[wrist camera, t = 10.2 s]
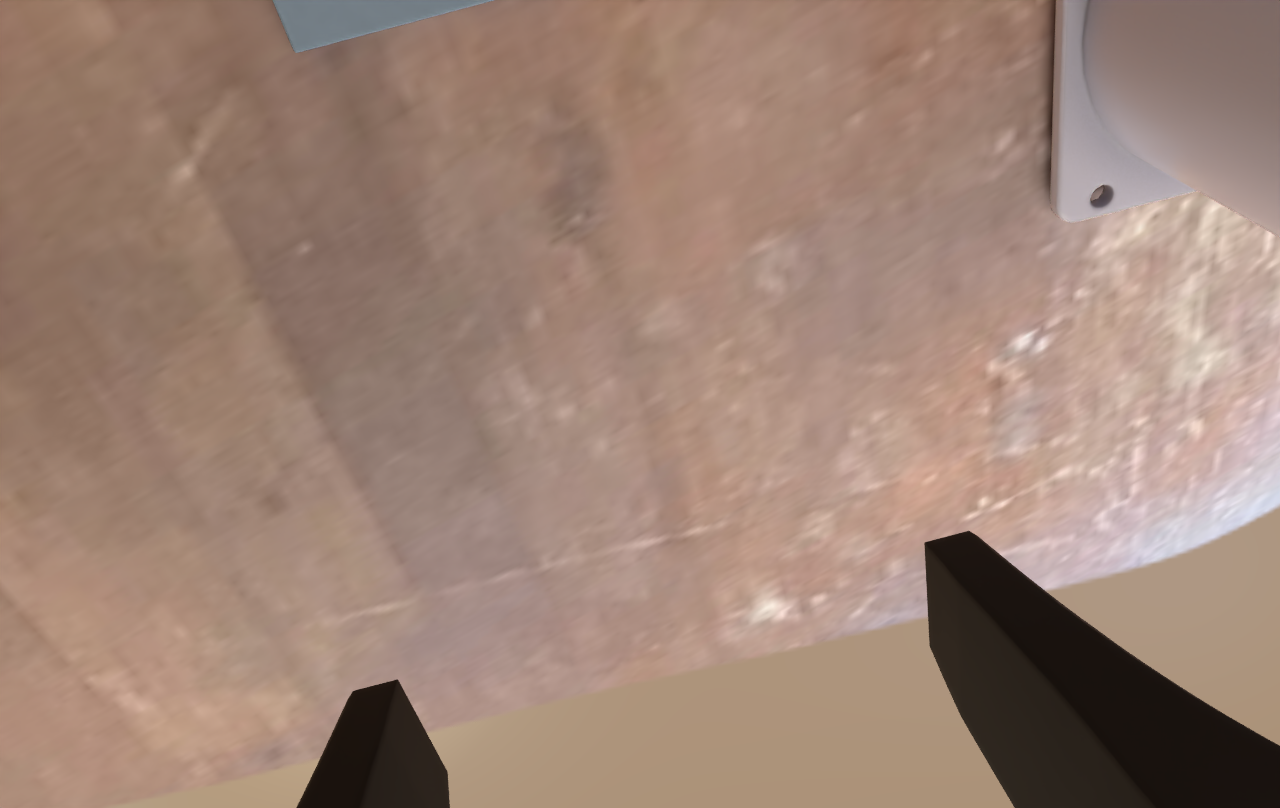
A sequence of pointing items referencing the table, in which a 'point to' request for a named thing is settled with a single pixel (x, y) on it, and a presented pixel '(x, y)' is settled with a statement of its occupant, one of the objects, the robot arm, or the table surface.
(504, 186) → the table surface
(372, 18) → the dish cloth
